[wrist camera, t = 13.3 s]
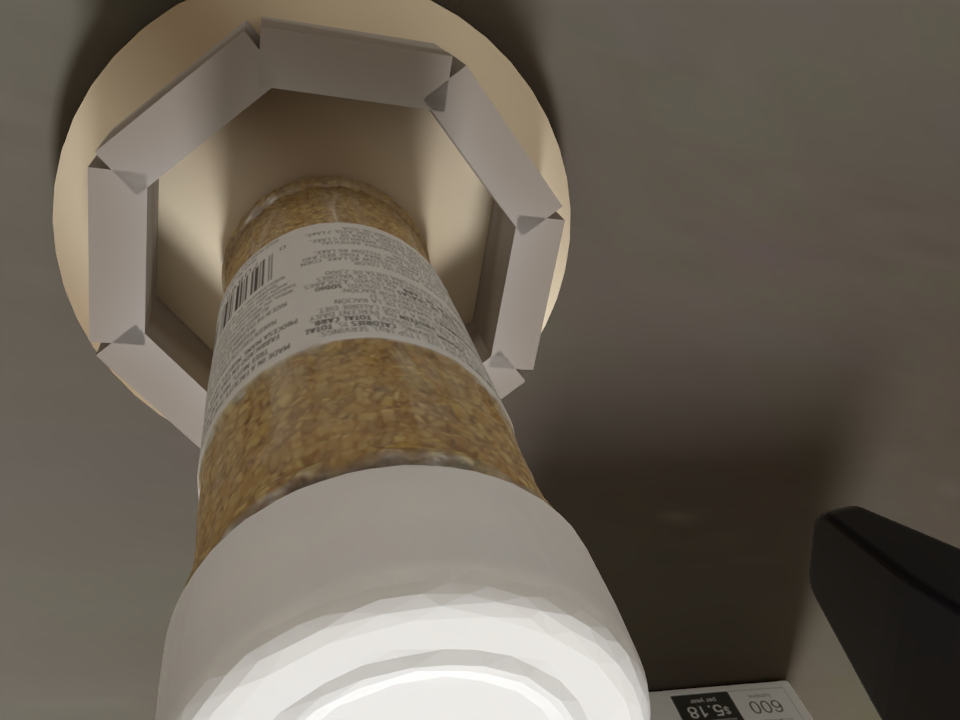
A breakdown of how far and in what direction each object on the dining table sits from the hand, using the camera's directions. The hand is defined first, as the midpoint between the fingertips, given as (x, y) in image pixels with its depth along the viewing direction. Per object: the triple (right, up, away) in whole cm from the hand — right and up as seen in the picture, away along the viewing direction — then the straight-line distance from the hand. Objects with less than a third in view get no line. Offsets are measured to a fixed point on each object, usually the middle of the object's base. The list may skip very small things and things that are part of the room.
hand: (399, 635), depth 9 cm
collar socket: (-3, +6, +11) cm, 13 cm away
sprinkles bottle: (-3, +5, +11) cm, 12 cm away
